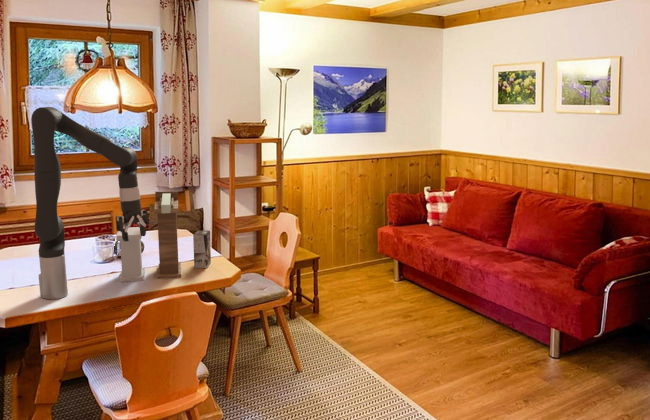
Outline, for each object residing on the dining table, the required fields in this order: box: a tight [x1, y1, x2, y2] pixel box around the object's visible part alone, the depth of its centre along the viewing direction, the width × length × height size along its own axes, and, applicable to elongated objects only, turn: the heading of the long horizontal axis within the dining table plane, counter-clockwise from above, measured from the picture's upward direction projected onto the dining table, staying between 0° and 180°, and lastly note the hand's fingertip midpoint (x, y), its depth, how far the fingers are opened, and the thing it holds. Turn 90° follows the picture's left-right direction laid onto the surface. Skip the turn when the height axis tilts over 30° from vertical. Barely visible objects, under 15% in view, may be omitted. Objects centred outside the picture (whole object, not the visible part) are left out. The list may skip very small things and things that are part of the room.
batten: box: [161, 193, 171, 213], centre depth 252 cm, size 26×4×4 cm, turn 14°
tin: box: [113, 240, 145, 256], centre depth 289 cm, size 15×3×8 cm, turn 101°
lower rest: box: [115, 226, 146, 283], centre depth 256 cm, size 14×10×21 cm
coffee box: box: [193, 230, 212, 269], centre depth 274 cm, size 9×6×16 cm
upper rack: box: [153, 190, 182, 280], centre depth 261 cm, size 20×10×36 cm, turn 14°
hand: (134, 238), depth 230 cm, fingers open, 8 cm apart
